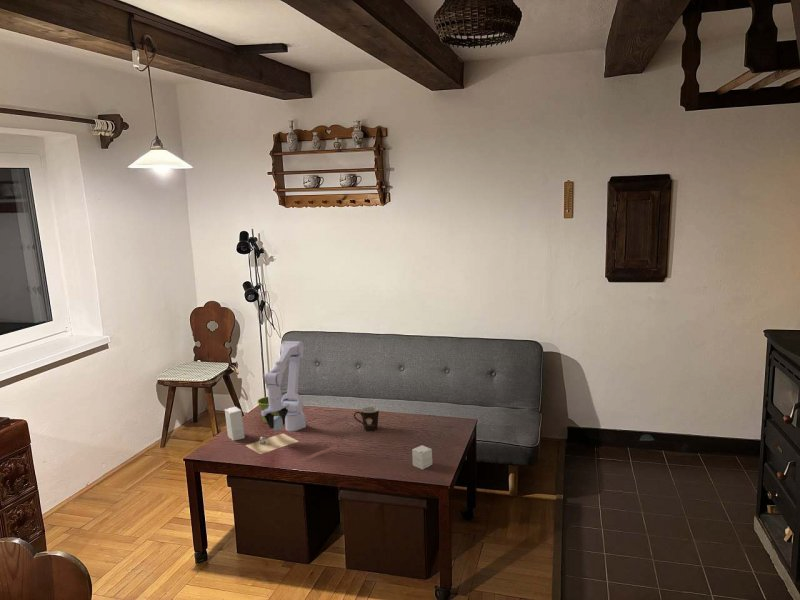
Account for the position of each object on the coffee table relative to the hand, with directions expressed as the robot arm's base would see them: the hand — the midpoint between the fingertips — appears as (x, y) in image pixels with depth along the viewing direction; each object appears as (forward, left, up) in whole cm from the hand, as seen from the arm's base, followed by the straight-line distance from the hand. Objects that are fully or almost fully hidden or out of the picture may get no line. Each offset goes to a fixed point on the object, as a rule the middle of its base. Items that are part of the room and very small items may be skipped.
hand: (276, 426), depth 293 cm
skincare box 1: (+10, -22, -10) cm, 26 cm away
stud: (+5, -5, -8) cm, 11 cm away
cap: (0, 0, -1) cm, 1 cm away
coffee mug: (-42, +14, -9) cm, 45 cm away
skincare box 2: (-32, +63, -10) cm, 72 cm away
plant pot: (-14, -31, -10) cm, 35 cm away
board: (+2, -2, -9) cm, 10 cm away
